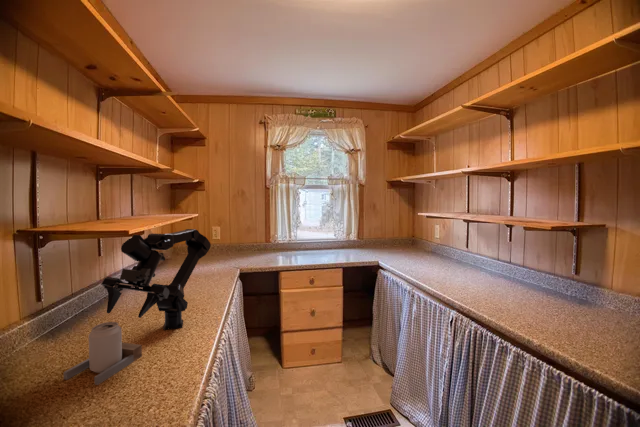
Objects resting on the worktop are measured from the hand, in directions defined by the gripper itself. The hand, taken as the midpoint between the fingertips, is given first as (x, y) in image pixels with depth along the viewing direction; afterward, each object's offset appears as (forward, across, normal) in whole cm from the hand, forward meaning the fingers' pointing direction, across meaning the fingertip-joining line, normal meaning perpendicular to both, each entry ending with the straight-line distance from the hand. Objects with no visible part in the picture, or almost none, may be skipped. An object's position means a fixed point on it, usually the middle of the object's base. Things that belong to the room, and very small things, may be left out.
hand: (123, 315), depth 86 cm
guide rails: (+14, 0, +3) cm, 14 cm away
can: (+14, 0, +4) cm, 14 cm away
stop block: (+10, +1, +8) cm, 13 cm away
